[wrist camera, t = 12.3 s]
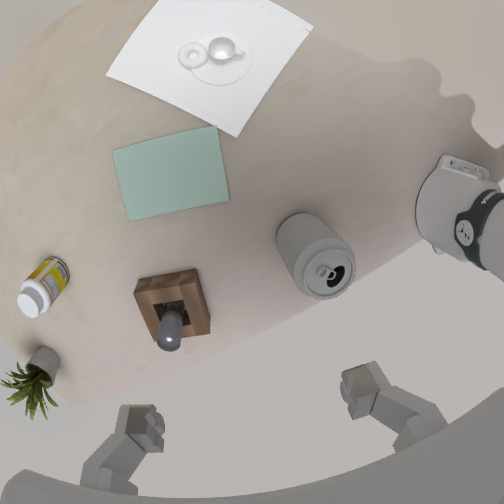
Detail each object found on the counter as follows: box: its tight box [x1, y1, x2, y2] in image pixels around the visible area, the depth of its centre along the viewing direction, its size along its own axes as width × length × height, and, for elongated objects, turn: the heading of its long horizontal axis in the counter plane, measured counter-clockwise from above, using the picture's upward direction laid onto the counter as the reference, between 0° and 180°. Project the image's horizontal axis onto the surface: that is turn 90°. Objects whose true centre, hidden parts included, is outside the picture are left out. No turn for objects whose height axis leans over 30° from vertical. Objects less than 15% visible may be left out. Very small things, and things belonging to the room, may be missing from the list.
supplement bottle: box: [18, 257, 69, 318], centre depth 32 cm, size 6×6×10 cm
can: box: [276, 213, 356, 300], centre depth 34 cm, size 8×8×12 cm
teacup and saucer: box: [177, 30, 254, 86], centre depth 26 cm, size 9×8×4 cm
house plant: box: [0, 346, 59, 420], centre depth 36 cm, size 14×14×16 cm
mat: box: [112, 125, 230, 222], centre depth 34 cm, size 14×10×1 cm
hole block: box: [133, 269, 210, 341], centre depth 40 cm, size 9×9×4 cm
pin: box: [157, 300, 185, 351], centre depth 37 cm, size 3×3×10 cm
